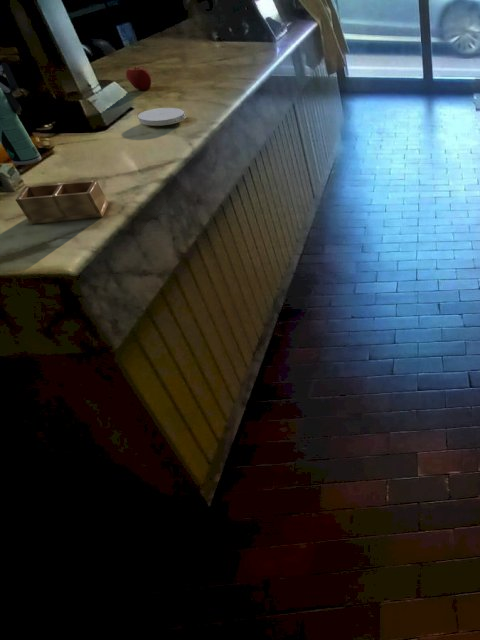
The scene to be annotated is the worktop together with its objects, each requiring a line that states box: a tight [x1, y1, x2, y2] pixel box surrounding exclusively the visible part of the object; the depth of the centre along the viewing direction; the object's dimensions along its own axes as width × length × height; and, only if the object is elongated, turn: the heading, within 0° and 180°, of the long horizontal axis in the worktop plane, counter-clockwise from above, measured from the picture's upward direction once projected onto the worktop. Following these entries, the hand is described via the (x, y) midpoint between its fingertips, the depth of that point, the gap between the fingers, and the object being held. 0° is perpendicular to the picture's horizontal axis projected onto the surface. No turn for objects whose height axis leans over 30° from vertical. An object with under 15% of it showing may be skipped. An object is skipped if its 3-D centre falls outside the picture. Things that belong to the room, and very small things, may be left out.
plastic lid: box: [137, 107, 187, 127], centre depth 174 cm, size 14×14×2 cm
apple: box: [125, 66, 152, 91], centre depth 198 cm, size 8×8×8 cm
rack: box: [15, 180, 109, 225], centre depth 124 cm, size 15×8×6 cm, turn 109°
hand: (1, 114), depth 112 cm, fingers closed on spray can, 5 cm apart
